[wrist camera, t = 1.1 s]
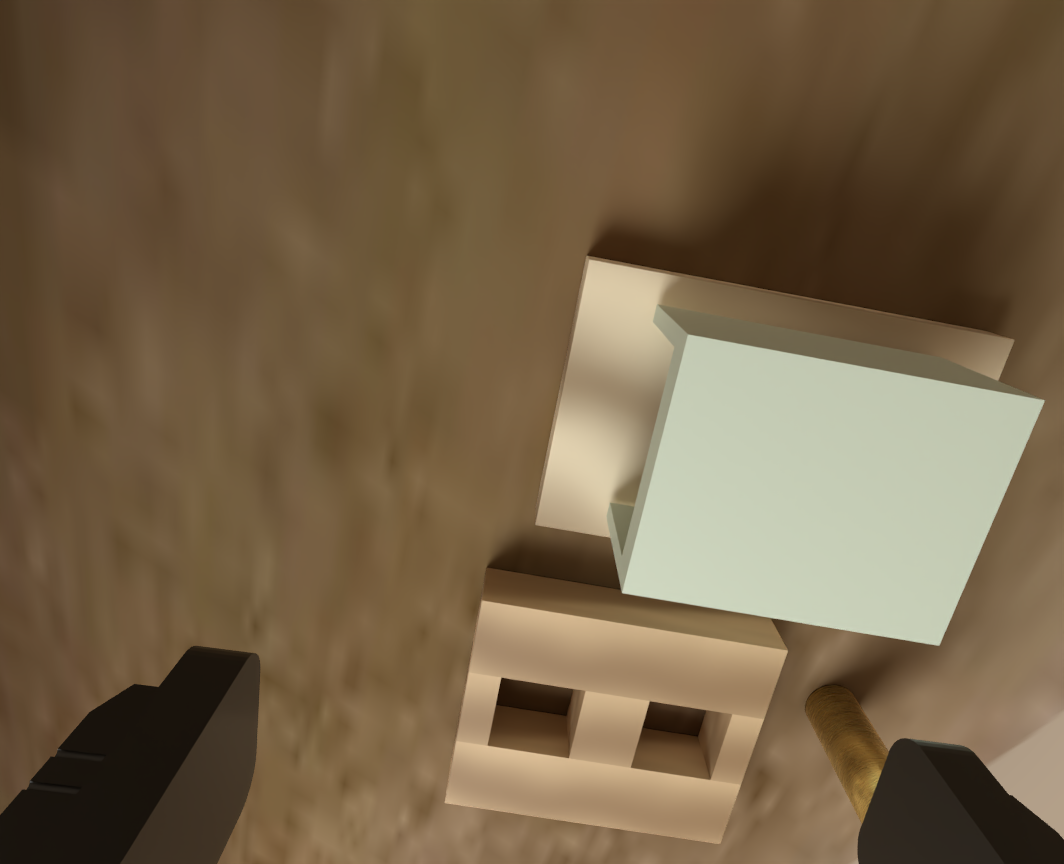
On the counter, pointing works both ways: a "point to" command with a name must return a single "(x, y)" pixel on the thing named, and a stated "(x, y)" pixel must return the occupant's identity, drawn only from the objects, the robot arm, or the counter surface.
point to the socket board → (611, 707)
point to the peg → (848, 742)
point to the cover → (817, 478)
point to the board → (643, 363)
